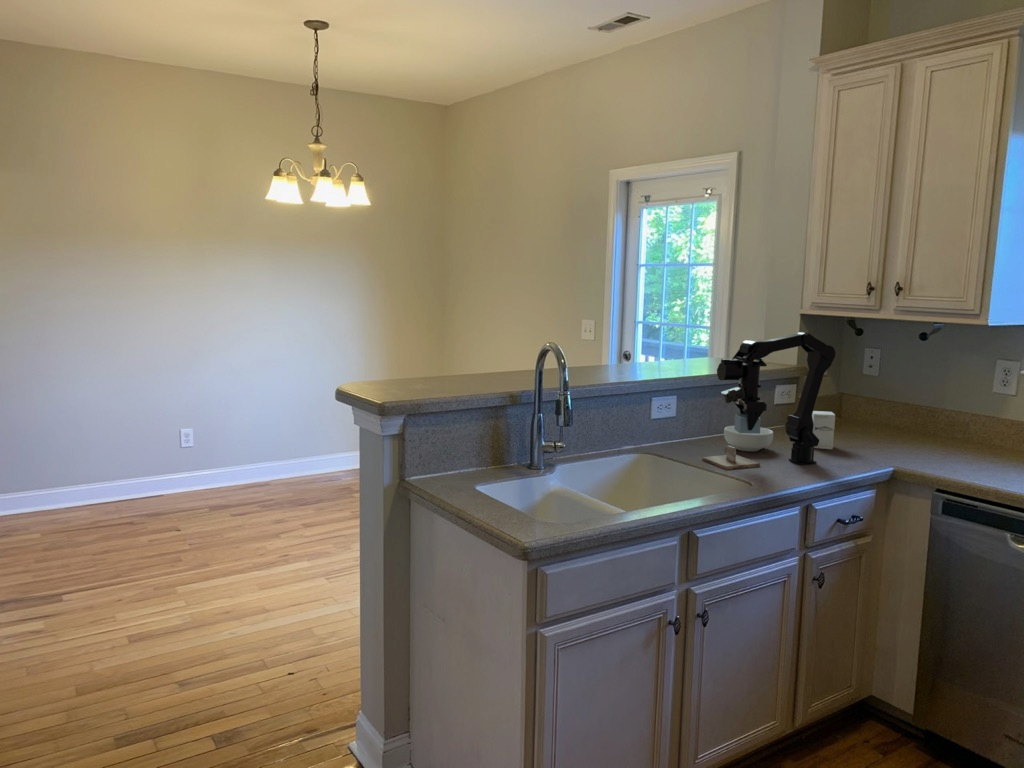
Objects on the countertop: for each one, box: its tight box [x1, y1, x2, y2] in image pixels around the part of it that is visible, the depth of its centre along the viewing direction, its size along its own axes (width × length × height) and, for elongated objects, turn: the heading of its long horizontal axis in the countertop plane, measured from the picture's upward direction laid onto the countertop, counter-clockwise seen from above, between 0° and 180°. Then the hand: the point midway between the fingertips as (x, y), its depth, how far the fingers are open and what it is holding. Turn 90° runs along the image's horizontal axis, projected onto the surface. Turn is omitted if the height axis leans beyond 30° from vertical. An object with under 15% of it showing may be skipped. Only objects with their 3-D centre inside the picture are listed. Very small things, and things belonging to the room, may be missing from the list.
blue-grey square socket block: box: [733, 413, 762, 434], centre depth 243 cm, size 6×6×5 cm
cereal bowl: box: [723, 425, 774, 452], centre depth 268 cm, size 17×17×7 cm
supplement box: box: [812, 410, 836, 450], centre depth 271 cm, size 7×7×13 cm
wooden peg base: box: [701, 445, 761, 470], centre depth 247 cm, size 13×13×6 cm
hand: (746, 428), depth 243 cm, fingers closed on blue-grey square socket block, 6 cm apart
